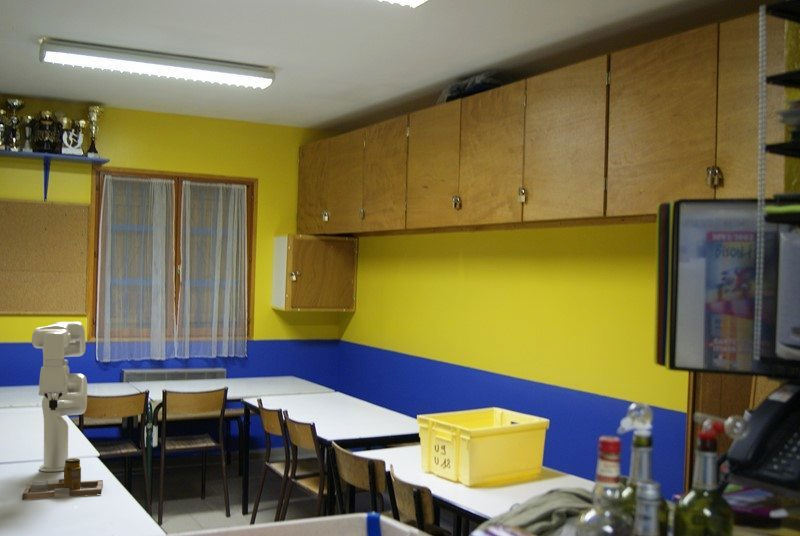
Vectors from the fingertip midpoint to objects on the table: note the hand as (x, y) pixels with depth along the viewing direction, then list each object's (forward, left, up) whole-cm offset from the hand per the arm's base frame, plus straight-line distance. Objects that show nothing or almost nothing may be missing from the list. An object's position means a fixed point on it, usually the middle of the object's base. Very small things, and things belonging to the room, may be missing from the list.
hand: (53, 409), depth 327 cm
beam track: (+16, +6, -28) cm, 33 cm away
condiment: (+16, +8, -29) cm, 34 cm away
